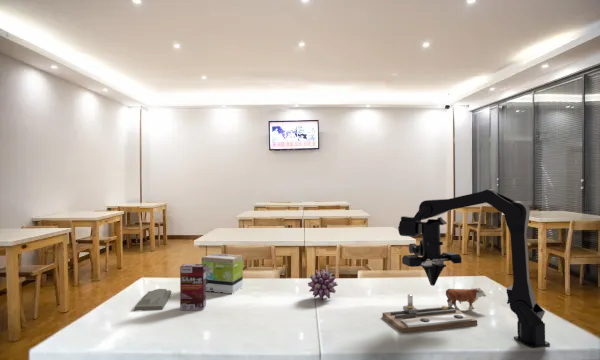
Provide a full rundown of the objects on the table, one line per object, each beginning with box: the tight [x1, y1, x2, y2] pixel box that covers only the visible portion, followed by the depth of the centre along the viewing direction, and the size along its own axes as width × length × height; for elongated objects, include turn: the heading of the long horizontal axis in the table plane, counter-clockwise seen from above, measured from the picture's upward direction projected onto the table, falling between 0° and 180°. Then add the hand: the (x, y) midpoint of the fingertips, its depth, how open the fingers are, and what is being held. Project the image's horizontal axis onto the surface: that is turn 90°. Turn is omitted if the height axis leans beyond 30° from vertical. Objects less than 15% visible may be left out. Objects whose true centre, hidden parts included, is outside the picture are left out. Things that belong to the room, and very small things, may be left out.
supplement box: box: [179, 263, 207, 311], centre depth 141 cm, size 9×5×16 cm, turn 91°
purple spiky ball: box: [307, 268, 339, 300], centre depth 150 cm, size 12×12×12 cm
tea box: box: [201, 252, 244, 294], centre depth 165 cm, size 15×10×15 cm
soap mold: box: [133, 288, 173, 312], centre depth 149 cm, size 10×20×4 cm, turn 8°
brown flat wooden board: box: [382, 305, 478, 334], centre depth 125 cm, size 14×26×3 cm, turn 103°
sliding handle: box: [402, 294, 418, 314], centre depth 127 cm, size 4×3×5 cm
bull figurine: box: [445, 286, 487, 311], centre depth 136 cm, size 4×13×8 cm, turn 78°
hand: (432, 285), depth 126 cm, fingers closed
